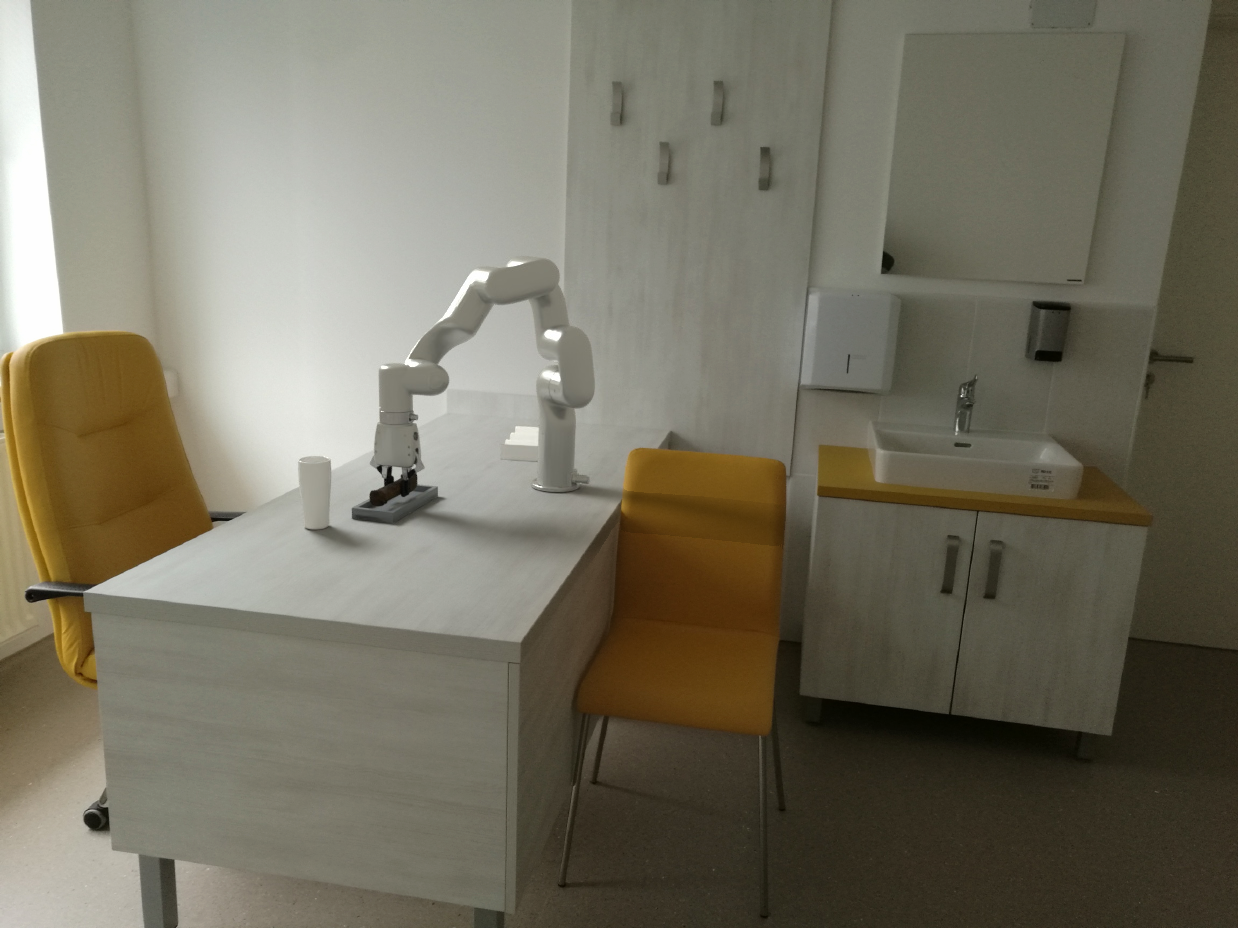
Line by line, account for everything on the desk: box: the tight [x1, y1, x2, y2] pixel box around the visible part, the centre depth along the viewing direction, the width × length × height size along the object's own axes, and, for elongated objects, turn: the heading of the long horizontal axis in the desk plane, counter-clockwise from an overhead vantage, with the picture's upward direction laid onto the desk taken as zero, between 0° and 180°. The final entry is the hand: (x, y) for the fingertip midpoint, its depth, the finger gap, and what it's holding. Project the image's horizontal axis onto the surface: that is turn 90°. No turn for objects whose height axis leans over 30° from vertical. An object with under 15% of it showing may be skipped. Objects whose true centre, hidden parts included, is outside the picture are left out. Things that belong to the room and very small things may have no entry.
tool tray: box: [351, 484, 439, 524], centre depth 220 cm, size 10×24×2 cm, turn 167°
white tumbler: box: [297, 455, 332, 531], centre depth 201 cm, size 7×7×15 cm
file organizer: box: [499, 425, 539, 462], centre depth 287 cm, size 13×35×5 cm, turn 178°
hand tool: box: [368, 472, 418, 506], centre depth 219 cm, size 19×4×5 cm, turn 161°
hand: (397, 494), depth 219 cm, fingers closed on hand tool, 3 cm apart
